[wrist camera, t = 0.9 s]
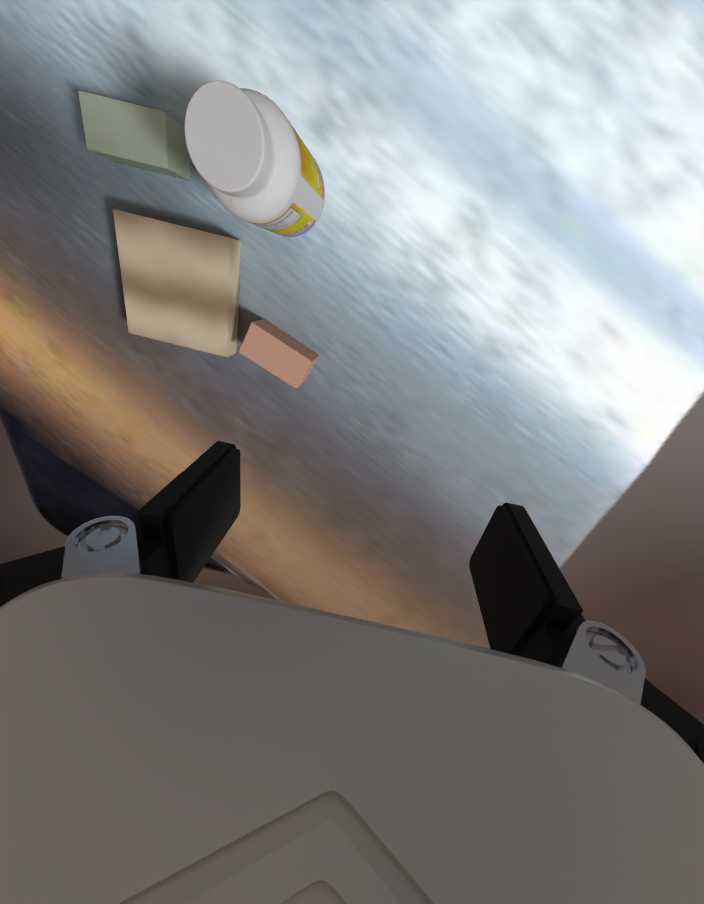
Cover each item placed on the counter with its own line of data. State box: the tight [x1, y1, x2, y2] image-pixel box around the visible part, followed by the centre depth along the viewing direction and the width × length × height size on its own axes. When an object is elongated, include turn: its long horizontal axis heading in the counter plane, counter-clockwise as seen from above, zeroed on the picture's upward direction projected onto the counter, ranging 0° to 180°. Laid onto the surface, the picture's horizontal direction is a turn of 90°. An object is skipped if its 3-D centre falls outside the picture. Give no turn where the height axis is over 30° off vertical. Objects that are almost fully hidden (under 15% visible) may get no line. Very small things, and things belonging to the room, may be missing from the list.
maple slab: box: [113, 209, 241, 357], centre depth 33 cm, size 11×11×2 cm
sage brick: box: [78, 90, 191, 181], centre depth 27 cm, size 7×4×4 cm, turn 78°
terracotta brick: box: [239, 319, 319, 389], centre depth 34 cm, size 7×4×4 cm, turn 58°
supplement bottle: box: [185, 81, 325, 237], centre depth 23 cm, size 7×7×13 cm
